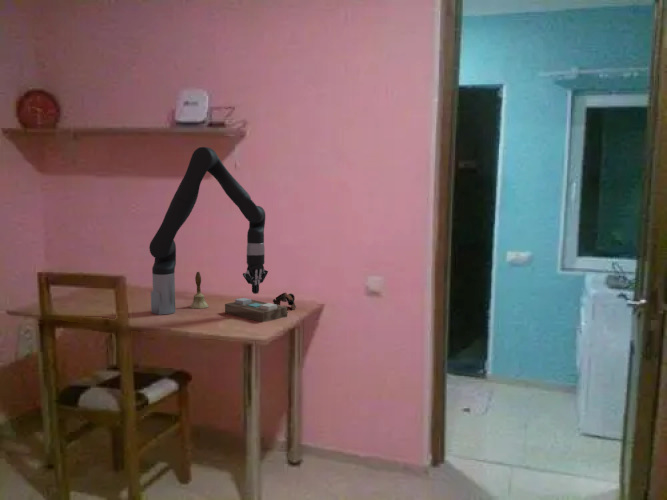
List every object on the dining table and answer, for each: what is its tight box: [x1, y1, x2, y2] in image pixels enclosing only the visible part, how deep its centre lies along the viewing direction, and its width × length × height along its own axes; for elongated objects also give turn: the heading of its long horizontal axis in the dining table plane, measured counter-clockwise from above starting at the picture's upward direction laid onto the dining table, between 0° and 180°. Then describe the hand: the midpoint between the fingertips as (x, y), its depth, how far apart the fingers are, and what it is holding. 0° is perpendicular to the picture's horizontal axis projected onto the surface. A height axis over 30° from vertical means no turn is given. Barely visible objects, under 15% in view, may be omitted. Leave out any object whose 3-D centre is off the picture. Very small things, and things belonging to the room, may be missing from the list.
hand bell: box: [189, 271, 209, 310], centre depth 276 cm, size 8×8×16 cm
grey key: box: [234, 297, 253, 305], centre depth 268 cm, size 5×5×2 cm
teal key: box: [248, 303, 262, 308], centre depth 263 cm, size 5×5×2 cm
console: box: [224, 299, 288, 323], centre depth 263 cm, size 14×24×4 cm, turn 50°
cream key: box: [260, 302, 277, 311], centre depth 258 cm, size 5×5×2 cm
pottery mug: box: [272, 292, 296, 311], centre depth 277 cm, size 12×10×8 cm
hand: (255, 293), depth 262 cm, fingers closed
